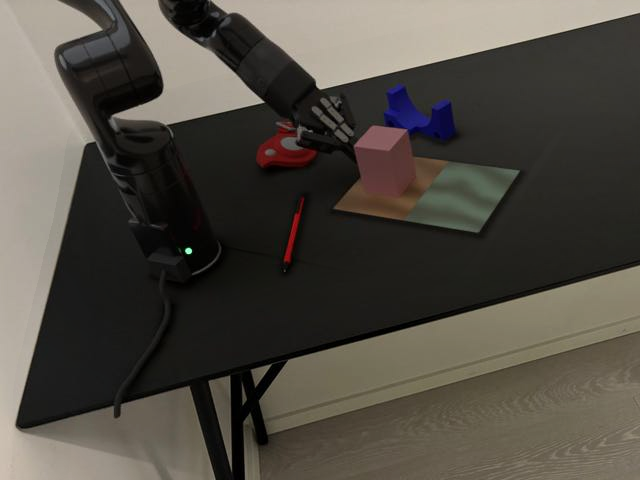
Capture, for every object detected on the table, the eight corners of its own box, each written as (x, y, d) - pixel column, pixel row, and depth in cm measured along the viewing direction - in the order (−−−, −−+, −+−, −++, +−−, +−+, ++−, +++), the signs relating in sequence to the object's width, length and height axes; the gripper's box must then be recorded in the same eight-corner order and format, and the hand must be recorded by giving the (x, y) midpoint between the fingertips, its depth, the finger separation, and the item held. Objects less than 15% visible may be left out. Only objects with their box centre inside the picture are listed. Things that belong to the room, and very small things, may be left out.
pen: (307, 196, 130) (305, 189, 130) (288, 273, 117) (286, 267, 116) (301, 196, 130) (299, 190, 130) (282, 274, 117) (280, 267, 116)
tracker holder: (328, 151, 137) (272, 163, 131) (326, 173, 140) (271, 186, 135) (292, 110, 142) (237, 120, 137) (291, 133, 145) (237, 143, 140)
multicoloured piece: (479, 235, 118) (478, 232, 117) (333, 211, 126) (332, 208, 126) (520, 173, 128) (520, 170, 127) (382, 155, 136) (382, 152, 136)
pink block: (399, 197, 126) (389, 150, 120) (364, 192, 128) (353, 146, 122) (416, 175, 130) (407, 129, 124) (382, 171, 132) (372, 125, 126)
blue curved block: (386, 128, 142) (379, 95, 138) (405, 116, 144) (399, 84, 140) (437, 148, 136) (431, 114, 132) (456, 135, 138) (450, 102, 134)
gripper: (289, 72, 130) (374, 150, 134) (241, 115, 122) (334, 197, 126) (309, 41, 125) (397, 124, 129) (261, 84, 116) (357, 170, 121)
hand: (366, 160), depth 128 cm, fingers closed
